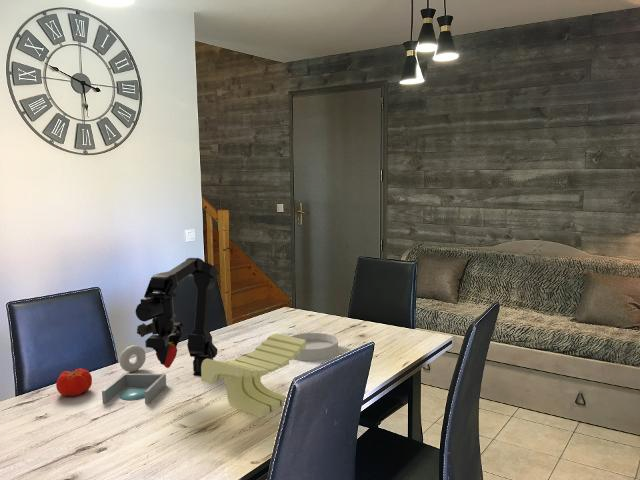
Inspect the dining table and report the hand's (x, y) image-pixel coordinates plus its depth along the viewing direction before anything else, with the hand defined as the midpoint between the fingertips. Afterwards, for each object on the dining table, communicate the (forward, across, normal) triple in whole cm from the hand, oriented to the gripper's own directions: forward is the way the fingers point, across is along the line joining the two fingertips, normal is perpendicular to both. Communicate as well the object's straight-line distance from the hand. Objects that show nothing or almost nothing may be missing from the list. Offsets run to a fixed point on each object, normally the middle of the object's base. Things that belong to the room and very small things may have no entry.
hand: (167, 360), depth 168 cm
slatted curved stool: (+12, +5, +30) cm, 33 cm away
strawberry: (+3, 0, 0) cm, 3 cm away
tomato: (+12, -2, -33) cm, 35 cm away
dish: (+13, -44, +43) cm, 63 cm away
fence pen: (+12, -1, -12) cm, 17 cm away
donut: (+12, -21, -21) cm, 32 cm away
